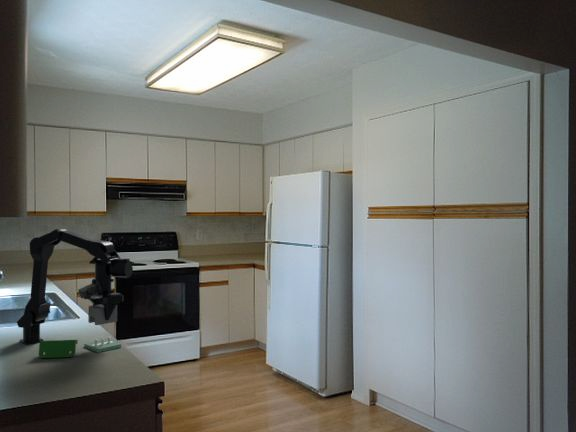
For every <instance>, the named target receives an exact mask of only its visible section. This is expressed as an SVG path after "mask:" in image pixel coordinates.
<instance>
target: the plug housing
mask: <svg viewBox="0 0 576 432" xmlns="http://www.w3.org/2000/svg"><path fill="white" fill-rule="evenodd" d="M87 319H88V321H87V322H88V323H89V324H93V323H94V326H100V325H104V324H105V325H106V324H112V323H117V322H118V304H117V305H116V307H115V309H114V311H113V312H112V314H111V316H110V318H109V320H105V312H104V306H103V305H102V304H99V305H93V304H92V305H88V318H87Z"/></svg>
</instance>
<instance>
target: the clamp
mask: <svg viewBox="0 0 576 432" xmlns="http://www.w3.org/2000/svg"><path fill="white" fill-rule="evenodd" d="M78 342H79V339H67V340H66V339H63V340H60V339H59V340H58V339H57V340H56V339H55V340H53V339H51V340H44V341H40V342H39V344H38V345H39V347H38V356H39V358H41V359H53V358H71V357H74V356H75V355H76V347H77V344H78Z"/></svg>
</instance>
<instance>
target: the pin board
mask: <svg viewBox="0 0 576 432" xmlns="http://www.w3.org/2000/svg"><path fill="white" fill-rule="evenodd" d="M83 347H84V348H86V349H89V350H91V351H93V352H96V353H102V351H103V352H107V351H112V350H116V349H120V348H122V344H121V343H119V342H117V341H114V340H112V339H111V336H107V338H106V339H105V338H104V337H102V338H101V340H98V339H94V341H91V342H85V343H84V346H83Z"/></svg>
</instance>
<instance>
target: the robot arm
mask: <svg viewBox="0 0 576 432" xmlns="http://www.w3.org/2000/svg"><path fill="white" fill-rule="evenodd" d="M62 242H64V243H65V244H69V245H71V246H73V247H77V248H79V249H81V250H82V249H83V250H85V251H86V252H87V253H88V254H89V255H90V256H93V258H92V259H91V260H90V261H89V262H88V263H89V264H91V265H94V278H92V279H91V283H90V284H87V285H84V286H83V287H81V288H78V290H77V291H78V293H79V297H80V299H83V300H88V301H89V302H90V303H92V305H99V304H102V305H103V306H104V312H105V320H109V318H110V316H111V314H112V312H113V311H114V309H115V307H116V305H117V306H118V305H119V303H121V302H122V303H123V302H124V295H123V294H122V293H119V292H114V289H112V283H113V282H115V279H114V278H115V277H116V278H127V279H128V278H130V277H131V276H132V275H133V270H134V267H133V265H132V262H131V261H130V258H121V257H120V255H119V254H118V253H117V251H116V249H115V246H114V244H113V242H111V241H107V240H100V239H92V238H89V237H87V236H84V235H80V234H78V233H75V232H73V231H69V230H67V229H65V228H57V229H56V228H55V229H53V230H52V231H50V232H48V233H45V234H43V235H41V236H37V237H33V238H32V239H31V240H30V241H29V254H30V255H31V256H30V257H31V258H32V260H33V261H32V262H33V263H32V274H31V275H32V276H31V287H30V288H31V289H30V298H29V299H28V302H27V303H26V304H25V307H24V312H23V315H22V316H21V317H20V318H19V319H18V320H17V321H16V323H17V324H16V325H17V327H18V328H22V338H21V339H19V342H21V343H22V344H24V345H29V344H34V343H40V341H45V340H44V339H43V338H41V324H45V322H46V319H47V318H48V316H49V314H50V313H51V302H47V299H46V289H47V288H46V287H47V279H48V278H47V277H48V267H49V266H48V265H49V260H50V258H51V257H52V255H53V253H54V248H55V246H57V245H59V244H60V243H62Z"/></svg>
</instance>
